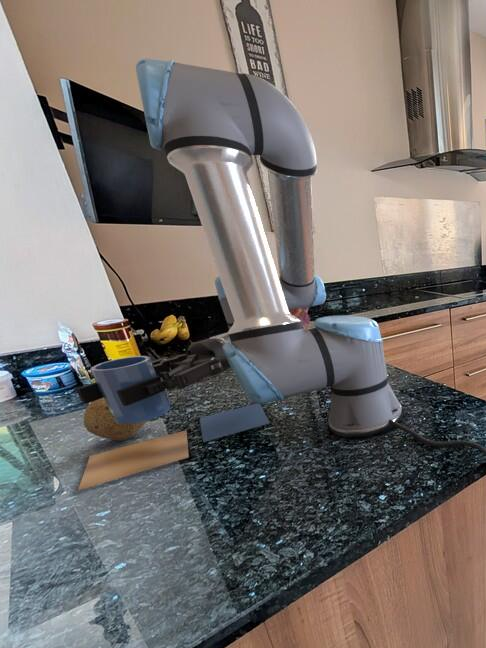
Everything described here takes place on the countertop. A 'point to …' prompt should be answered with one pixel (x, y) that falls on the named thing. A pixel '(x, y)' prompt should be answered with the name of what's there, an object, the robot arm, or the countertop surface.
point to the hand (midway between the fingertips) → (101, 397)
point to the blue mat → (232, 422)
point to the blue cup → (122, 376)
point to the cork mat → (134, 459)
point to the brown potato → (107, 422)
